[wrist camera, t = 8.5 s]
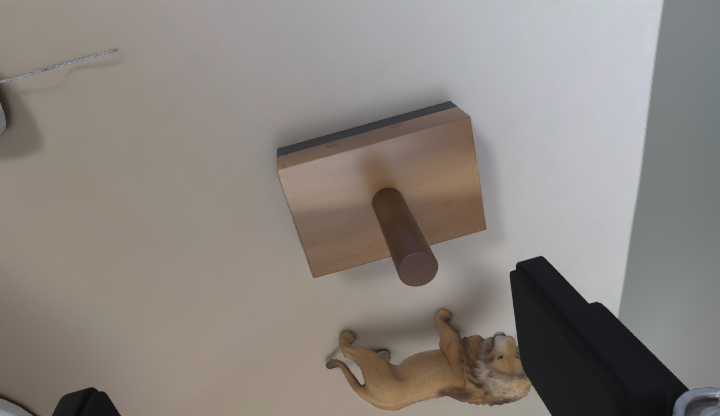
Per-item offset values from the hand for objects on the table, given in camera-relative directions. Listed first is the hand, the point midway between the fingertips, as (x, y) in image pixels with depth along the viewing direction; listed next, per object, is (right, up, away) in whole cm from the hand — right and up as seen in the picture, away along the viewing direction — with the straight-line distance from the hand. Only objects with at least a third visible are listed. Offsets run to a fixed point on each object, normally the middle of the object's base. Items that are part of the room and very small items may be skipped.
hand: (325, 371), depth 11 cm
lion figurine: (+5, -6, +30) cm, 31 cm away
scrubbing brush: (+2, +7, +17) cm, 18 cm away
